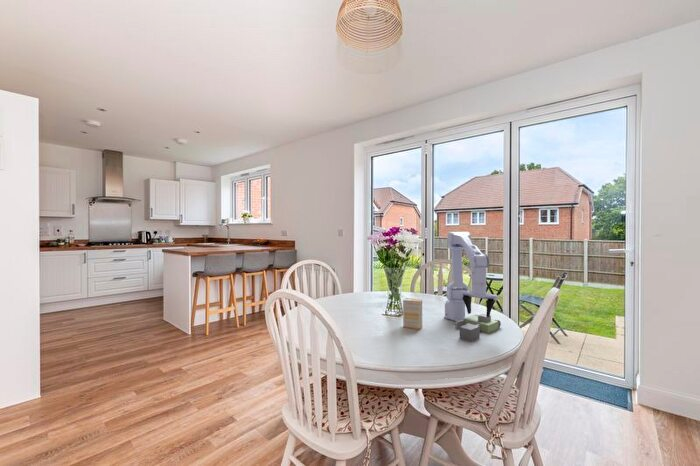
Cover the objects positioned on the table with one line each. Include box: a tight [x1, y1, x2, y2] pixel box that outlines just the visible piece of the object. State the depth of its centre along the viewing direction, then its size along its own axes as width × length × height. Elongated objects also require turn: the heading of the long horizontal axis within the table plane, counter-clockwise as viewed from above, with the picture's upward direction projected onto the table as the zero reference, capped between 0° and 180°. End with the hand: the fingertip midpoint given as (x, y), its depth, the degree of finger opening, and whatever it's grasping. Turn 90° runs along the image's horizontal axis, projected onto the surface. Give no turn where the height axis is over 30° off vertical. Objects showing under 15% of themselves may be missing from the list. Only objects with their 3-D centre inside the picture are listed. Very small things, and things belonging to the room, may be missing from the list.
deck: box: [454, 313, 502, 334], centre depth 142 cm, size 12×18×6 cm
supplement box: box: [402, 297, 423, 330], centre depth 144 cm, size 8×5×13 cm, turn 65°
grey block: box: [459, 323, 481, 342], centre depth 130 cm, size 5×7×5 cm
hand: (478, 314), depth 130 cm, fingers open, 7 cm apart
